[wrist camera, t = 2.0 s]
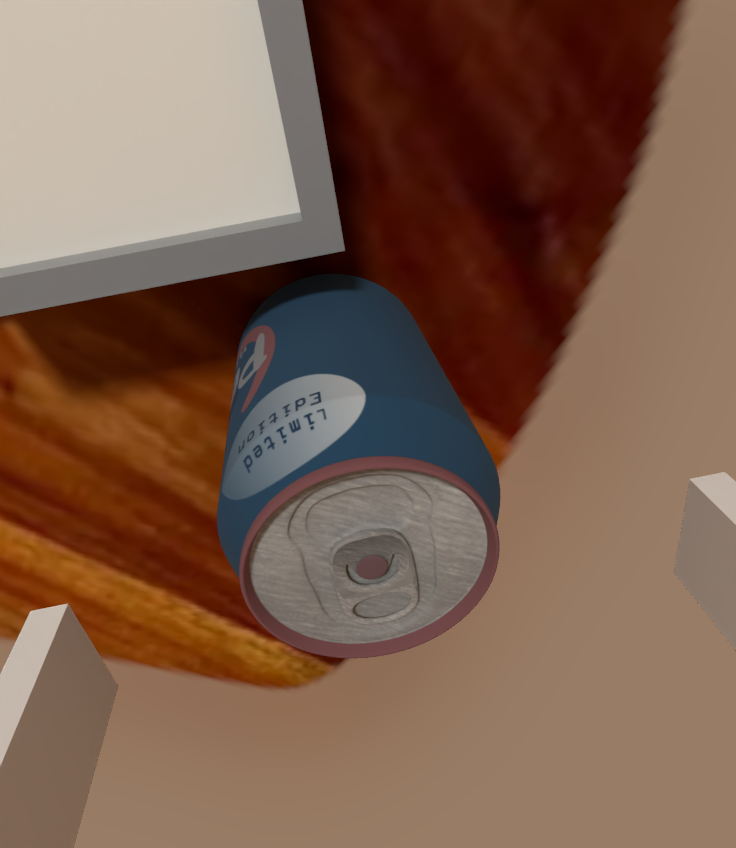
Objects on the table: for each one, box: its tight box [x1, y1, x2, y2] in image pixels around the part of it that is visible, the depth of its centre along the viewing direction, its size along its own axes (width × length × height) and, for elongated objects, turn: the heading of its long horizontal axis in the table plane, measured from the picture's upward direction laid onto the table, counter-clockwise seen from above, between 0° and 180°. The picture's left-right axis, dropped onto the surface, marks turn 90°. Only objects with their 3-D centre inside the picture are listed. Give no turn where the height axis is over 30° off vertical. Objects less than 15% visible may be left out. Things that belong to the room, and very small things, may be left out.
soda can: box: [217, 274, 500, 658], centre depth 18 cm, size 7×7×12 cm
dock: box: [0, 0, 345, 317], centre depth 15 cm, size 15×12×5 cm
